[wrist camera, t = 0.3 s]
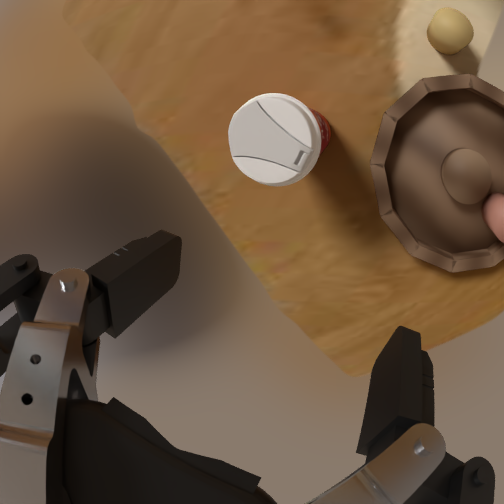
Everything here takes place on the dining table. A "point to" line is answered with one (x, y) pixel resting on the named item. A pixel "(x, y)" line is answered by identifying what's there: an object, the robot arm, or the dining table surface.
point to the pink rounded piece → (494, 213)
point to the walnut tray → (420, 169)
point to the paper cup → (277, 139)
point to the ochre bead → (449, 31)
